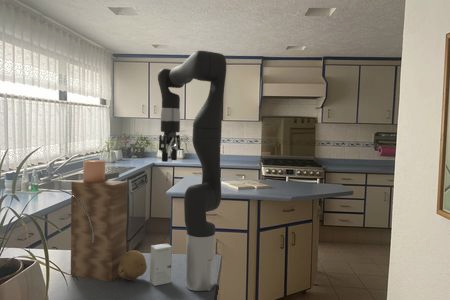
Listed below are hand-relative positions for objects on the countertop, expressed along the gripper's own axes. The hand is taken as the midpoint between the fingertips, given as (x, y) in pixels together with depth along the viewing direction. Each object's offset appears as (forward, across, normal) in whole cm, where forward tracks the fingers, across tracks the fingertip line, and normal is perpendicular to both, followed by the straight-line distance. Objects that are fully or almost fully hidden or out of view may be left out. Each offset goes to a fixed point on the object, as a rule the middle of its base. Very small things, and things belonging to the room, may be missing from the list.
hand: (169, 160), depth 140 cm
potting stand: (+38, +25, -14) cm, 48 cm away
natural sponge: (+38, +26, 0) cm, 46 cm away
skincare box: (+38, +24, +9) cm, 46 cm away
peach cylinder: (+6, +21, -16) cm, 27 cm away
